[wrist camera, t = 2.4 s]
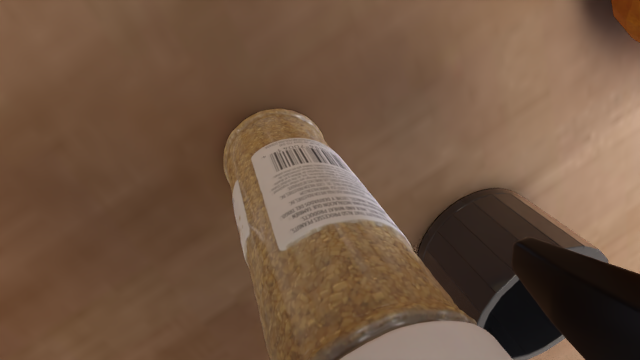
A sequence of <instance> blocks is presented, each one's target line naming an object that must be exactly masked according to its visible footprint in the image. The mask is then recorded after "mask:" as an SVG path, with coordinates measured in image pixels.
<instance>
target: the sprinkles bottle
mask: <svg viewBox="0 0 640 360" xmlns="http://www.w3.org/2000/svg"><path fill="white" fill-rule="evenodd" d="M223 168H224V173H225V176H226V178H227V180H228V182H229V184H230V185H231V191H232V194H233V208H234V214H235V218H236V223H237V227H238V232H239V235H240V241H241V245H242V249H243V254H244V257H245V261H246V263H247V265H248V267H249V270H250V275H251V280H252V283H253V288H254V293H255V297H256V300H257V304H258V310H259V314H260V319H261V324H262V329H263V334H264V339H265V343H266V347H267V351H268V354H269V357H270V360H513V359H512V358H511V357H510V356H509V354H508V353H507V352H506V351H505V350H504V348H503V347H502V346H501V345H500V344H499V342H498V341H497V340H496V339H495V338H494V337H493V336H492V335H491V334H490V333H489V332H487V331H486V330H485V329H483V328H481V327H479V326H477V322H476V321H475V320H474V319H472V318H471V317H469V316H468V315H467V314H466V313H464V312H463V311H462V310H459V308H458V307H457V306H456V305H455V304H454V302H453V300H452V298H451V297H450V296H449V294H448V293H447V292H446V291H445V290H444V289H443V287H442V286H441V285H440V284H439V283H438V281H437V280H436V279H435V278H434V277H433V275H432V274H431V272H430V271H429V269H428V268H427V267H425V265H424V263H423V262H422V261H421V259H420V258H419V257H418V256H417V255H416V254H415V253H414V251H413V249H412V246H411V244H410V243H409V241H408V240H407V238H406V237H405V236H404V234H403V233H402V232H401V231H400V229H399V228H398V227H397V226H396V224H395V223H394V222H393V221H392V219H391V218H390V217H389V216H388V215H387V213H386V212H385V211H384V210H383V208H382V207H381V206H380V205H379V203H378V202H377V201H376V200H375V198H374V197H373V196H372V195H371V194H370V192H369V191H368V190H367V189H366V187H365V186H364V185H363V184H362V183H361V181H360V180H359V179H358V178H357V176H356V175H355V174H354V173H353V172H352V170H351V169H350V168H349V167H348V166H347V164H346V163H345V162H344V161H343V160H342V158H341V157H340V156H339V155H338V154H337V153H336V152H335V151H333V150H332V149H331V148H330V147H329V146H328V144H327V143H326V142H325V141H324V138H323V135H322V133H321V131H320V130H319V128H318V127H317V126H316V124H315V123H313V122H312V121H311V120H310V119H309V118H307V117H306V116H305V115H303V114H300V113H297V112H295V111H292V110H285V109H270V110H264V111H260V112H258V113H256V114H253V115H251V116H250V117H248V118H247V119H245V120H243V121H242V122H241V124H239V125H238V126H237V127H236V128H235V129H234V130H233V131H232V132H231V134H230V135H229V137H228V140H227V142H226V145H225V149H224V159H223Z"/></svg>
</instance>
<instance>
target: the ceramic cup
mask: <svg viewBox="0 0 640 360" xmlns="http://www.w3.org/2000/svg"><path fill="white" fill-rule="evenodd" d="M526 237H533V238H536V239H539V240H542V241H545V242H547V243H550V244H553V245H556V246H559V247H562V248H565V249H568V250H571V251H574V252H577V253H580V254H582V255H585V256H588V257H591V258H594V259H597V260H600V261H603V262H606V263H608V259H607V258H606V257H605V255H604V254H603V253H602V252H601V251H600V250H599V249H598V248H596V247H595V246H593V245H592V244H590V243H589V242H588V241H586V240H585V239H583V238H582V237H580V236H579V235H577V234H576V233H575V232H573V231H572V230H570V229H569V228H567V227H566V226H564V225H563V224H562V223H560V222H559V221H557V220H556V219H554V218H553V217H551V216H550V215H549V214H547V213H546V212H544V211H543V210H541V209H540V208H538V207H537V206H536V205H534V204H533V203H531V202H530V201H528V200H527V199H525V198H524V197H521V196H520V195H518V194H517V193H515V192H513V191H511V190H507V189H500V188H494V189H486V190H481V191H478V192H475V193H473V194H470V195H468V196H466V197H464V198H462V199H461V200H459V201H457V202H456V203H454V204H453V205H451V206H450V207H449V208H448V209H447V210H445V211H444V212H443V213H442V214H441V215H440V216H439V217H438V218H437V219H436V220H435V222H434V223H433V224H432V225H431V227H430V228H429V230H428V231H427V233H426V234H425V236H424V238H423V240H422V242H421V245H420V248H419V251H418V257H419V258H420V259H421V261H422V262H423V263H424V265H425V267H427V268H428V269H429V271H430V272H431V274H432V275H433V277H434V278H435V279H436V280H437V281H438V283H439V284H440V285H441V286H442V287H443V289H444V290H445V291H446V292H447V293H448V294H449V296H450V297H451V298H452V300H453V302H454V304H455V305H456V306H457V307H458V308H459V310H462V311H463V312H464V313H466V314H467V315H468V316H469V317H471V318H472V319H474V320H475V321H476V322H477V326H479V327H481V328H483V329H485V330H486V331H487V332H489V333H490V334H491V335H492V336H493V337H494V338H495V339H496V340H497V341H498V342H499V344H500V345H501V346H502V347H503V348H504V350H505V351H506V352H507V353H508V354H509V356H510V357H511V358H512V359H513V360H528V359H530V358H532V357H534V356H537V355H539V354H541V353H543V352H545V351H547V350H548V349H550V348H551V347H553V346H554V345H556V344H557V343H559V342H560V341H562V340H563V339H565V337H564V336H563V334H562V333H561V332H560V331H559V330H558V329H557V328H556V327H555V325H554V324H553V323H552V322H551V321H550V319H549V318H548V317H547V316H546V314H545V313H544V312H543V310H542V309H541V308H540V306H539V305H538V304H537V302H536V301H535V300H534V298H533V297H532V296H531V294H530V293H529V292H528V290H527V289H526V287H525V286H524V285H523V283H522V282H521V281H520V279H519V278H518V277H517V275H516V274H515V273H514V271H513V268H512V253H513V244H514V243H515V242H516V241H518V240H521V239H523V238H526Z"/></svg>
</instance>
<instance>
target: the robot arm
mask: <svg viewBox="0 0 640 360" xmlns="http://www.w3.org/2000/svg"><path fill="white" fill-rule="evenodd" d="M512 268H513V271H514V273H515V274H516V275H517V277H518V278H519V279H520V281H521V282H522V283H523V285H524V286H525V287H526V289H527V290H528V292H529V293H530V294H531V296H532V297H533V298H534V300H535V301H536V302H537V304H538V305H539V306H540V308H541V309H542V310H543V312H544V313H545V314H546V316H547V317H548V318H549V319H550V321H551V322H552V323H553V324H554V325H555V327H556V328H557V329H558V330H559V331H560V332H561V333H562V334H563V336H564V337H565V338H566V339H567V340H568V341H569V342H570V343H571V344H572V345H573V347H574V348H575V349H576V350H577V351H578V352H579V353H580V354H581V355H582V356H583V358H584V359H585V360H640V274H638V273H635V272H632V271H629V270H626V269H623V268H620V267H618V266H615V265H612V264H609V263H606V262H603V261H600V260H597V259H594V258H591V257H588V256H585V255H582V254H580V253H577V252H574V251H571V250H568V249H565V248H562V247H559V246H556V245H553V244H550V243H547V242H545V241H542V240H539V239H536V238H533V237H526V238H523V239H521V240H518V241H516V242H515V243H514V244H513V253H512Z"/></svg>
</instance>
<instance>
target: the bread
mask: <svg viewBox="0 0 640 360" xmlns="http://www.w3.org/2000/svg"><path fill="white" fill-rule="evenodd" d="M611 3H612V8H613V15H614V17H615V18H616V19H617V20H618V22H619V23H620V24H621V25H622V26H623V28H624V29H625V30H626V31H627V32H628V34H629V35H630V36H631V37H632V38H633V39H635V40H636V41H638V42H639V43H640V0H611Z"/></svg>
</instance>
